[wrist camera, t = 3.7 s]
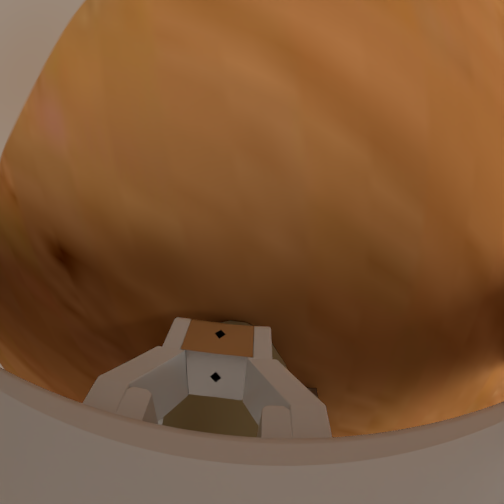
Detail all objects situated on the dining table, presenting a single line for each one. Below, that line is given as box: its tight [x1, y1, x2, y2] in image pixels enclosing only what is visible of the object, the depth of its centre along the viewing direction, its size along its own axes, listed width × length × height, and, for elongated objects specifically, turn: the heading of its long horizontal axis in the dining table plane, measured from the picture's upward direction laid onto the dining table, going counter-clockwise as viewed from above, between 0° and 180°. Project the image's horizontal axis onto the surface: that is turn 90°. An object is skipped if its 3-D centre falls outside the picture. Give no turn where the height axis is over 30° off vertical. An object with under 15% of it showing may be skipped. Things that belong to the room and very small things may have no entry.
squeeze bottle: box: [162, 321, 287, 437], centre depth 13 cm, size 8×8×18 cm
